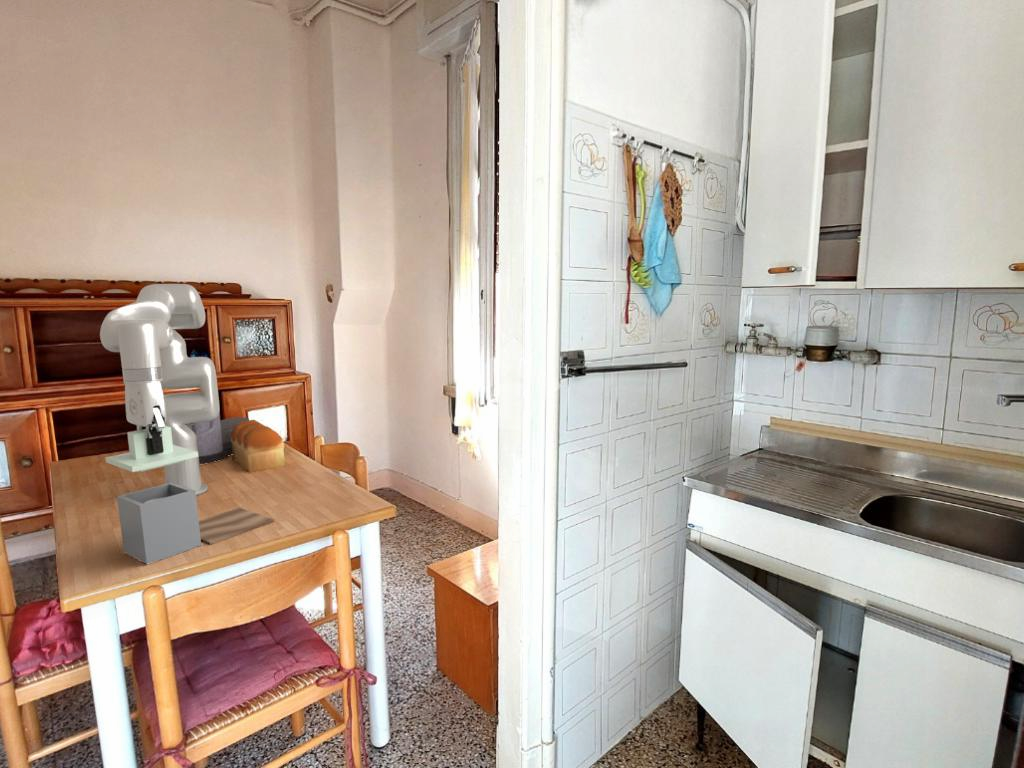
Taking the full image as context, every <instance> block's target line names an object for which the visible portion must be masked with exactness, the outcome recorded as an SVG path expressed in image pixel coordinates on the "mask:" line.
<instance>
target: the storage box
mask: <svg viewBox="0 0 1024 768" xmlns="http://www.w3.org/2000/svg"><path fill="white" fill-rule="evenodd" d="M156 498H162V499H158V500H154V501H151V502H147V503H145V502H146V501H149V500H152V499H156ZM116 500H117V509H118V515H119V517H118V518H119V523H120V532H121V539H122V547H123V553H124V552H126V553H128V554H129V555H131V556H133V557H135V558H137V559H139V560H141V561H143V562H145V563H146V564H148V563H151V562H154V561H157V560H160V559H163V560H165V559H164V558H166V559H168V558H171V557H174V556H176V554H177V555H179V553H180V554H182V553H184V551H185V552H188V551H190V549H191V550H193V549H196V548H198V547H197V546H199V547H201V546H202V541H201V538H200V529H199V521H200V520H199V511H198V501H197V495H196V491H195V490H193V489H190V488H187V487H184V486H181V485H178V484H175V483H172V482H171V483H167V484H166V483H165V484H158V485H156V486H152V487H148V488H147V487H146V488H144V489H141V490H136V491H132V492H128V493H125V494H121V495H118V496H116ZM200 545H201V546H200ZM195 547H196V548H195ZM187 550H188V551H187ZM129 555H128V556H129ZM131 556H130V557H131ZM170 556H171V557H170ZM133 557H132V558H133ZM167 557H168V558H167ZM135 558H134V559H135ZM160 561H161V560H160ZM157 562H158V561H157ZM146 564H145V565H146Z"/></svg>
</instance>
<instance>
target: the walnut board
mask: <svg viewBox="0 0 1024 768" xmlns="http://www.w3.org/2000/svg"><path fill="white" fill-rule="evenodd" d="M272 523H275V519H274V518H271V517H267V516H264V515H262V514H259V513H256V512H253V511H250V510H247V509H244V508H242V507H237V508H234V509H232V510H227V511H224V512H222V513H219V514H214V515H212V516H209V517H207V518H203V519H200V520H199V529H200V538H201V540H203V541H205V542H207V543H206V544H208V543H209V544H208V545H210V544H212V543H214V544H217V543H220V542H223V541H225V540H228V539H231V538H233V537H236V536H238V535H241V534H243V533H247V532H251V531H253V530H255V528H256V529H258V528H260V527H264V526H266V525H269V524H272ZM222 540H223V541H222ZM203 541H202V542H203ZM205 542H204V543H205ZM216 542H217V543H216ZM212 545H213V544H212Z"/></svg>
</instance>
